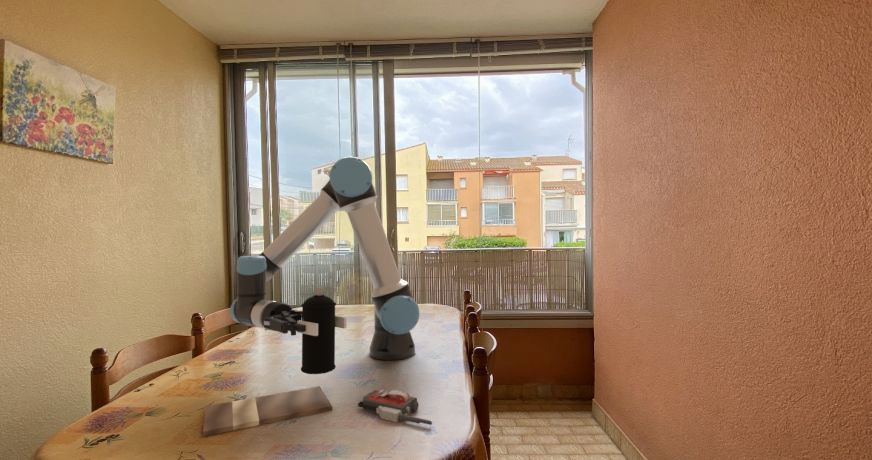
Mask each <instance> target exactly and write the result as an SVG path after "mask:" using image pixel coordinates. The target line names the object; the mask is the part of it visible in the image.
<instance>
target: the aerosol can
mask: <svg viewBox="0 0 872 460" xmlns="http://www.w3.org/2000/svg"><path fill="white" fill-rule="evenodd" d="M336 306H337V303H336V302H335V301H334V300H333V299H332V297H330V296H326V295H324V286H322V285H321V286H319V285H318V286H315V287H314V294H313V296H310V297H308V298H306V299H305V301H303V302H302V304H301V307H302V309H301V311H302V320H301V321H306V322H312V323H317V324H318V336H313V335H308V334H303V333H301V336H302V337H301V367H300V372H302V373H304V374H308V375H322V374H326V373H330V372H332V371H334V370H335V369H336V367H337V366H336V364H335V363H336V361H335V360H336V357H335V356H336V355H335V354H336V351H335V349H336V331H335V330H336V327H335V315H336Z"/></svg>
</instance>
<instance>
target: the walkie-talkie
mask: <svg viewBox="0 0 872 460" xmlns="http://www.w3.org/2000/svg"><path fill="white" fill-rule="evenodd" d="M357 406H358V407H359V408H360V409H361V408H362V409H363V411H366V412H369V413H373V414H378V416H379V418H381V420H386V421H389V422H393V423H396V424H397V423H398V422H400V421H402V422H404V421H405V422H410V423H415V424H423V425H424V424H425V425H430V426H432V425H433V422H432V421H431V420H429V419H425V418H420V417H415V416H410V415H411V414H412V413H413V412H417V411H418V409H419V406H420V405H419V402H418V398H417V397H415V396H410V395H409V393H408V392H406V391H400V390H396V389H392V390H391V391H389V392H388V391H385V389H381V390H377V389H374V390H372V391H370V392H369V393H367V394H366V395H364V396H363V398H362V401H359V402H357Z"/></svg>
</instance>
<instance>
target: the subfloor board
mask: <svg viewBox="0 0 872 460" xmlns="http://www.w3.org/2000/svg"><path fill="white" fill-rule="evenodd" d="M330 411H333V405H332V403H331V402H330V400H329V398H328V397H327V395H326V394H325V392H324V391H323V389H322V387H321V385H317V386H313V387H307V388H301V389H295V390H294V389H293V390H290V391H285V392H284V391H283V392H279V393H273V394H272V393H271V394H267V395H262V396H255V397H249V398H245V399H244V398H243V399H239V400H232V401H227V402H222V403H217V404H210V405H205V412H204V420H203V427H202V437H209V436H212V435H217V434H222V433H223V434H224V433H227V432H232V431H237V430H241V429H247V428H252V427H256V426H261V425H267V424H271V423H277V422H280V421H286V420H291V419H295V418H301V417H304V416H305V417H307V416H311V415H315V414H319V413H320V414H321V413H325V412H330Z"/></svg>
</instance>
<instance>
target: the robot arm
mask: <svg viewBox="0 0 872 460" xmlns="http://www.w3.org/2000/svg"><path fill="white" fill-rule="evenodd" d="M378 197H379V196H378V193H377V190H376V187H375V185H374V182H373V172H372V170H371V168H370V166H369V165H368V164H367V163H366V162H365V161H364V160H363V159H362V158H359V157H357V156H345V157H342V158H340V159H338V160H337V161H336V162H335V163H334V164H333V165H332V166H331V168H330V170H329V180H328V181H327V183H326V184H324V186H323V187H322V188H321V189H320V195H318V196H317V198H315V199H314V200H313V201H312V202H311V203H310V204H309V205H308V206H307V207H306V208H305V209H304V210H303V211H302V213H300V214H299V215H298V216H297V217H296V219H295V218H294V221H292V222H291V223H290V224H289V225H288V226H287V227H286V228H285V229H284V230H283V231H282V232H281V233H280V234H279V235H278V236H277V237H276V238H275V239H274V240H273V241H272V242H271V243H270V244H269V245H268V246H267V247H266V248H265V249H264V250H263V251H262V252H261V253H260V254H259V255H241V256H239V257H237V262H236V263H237V264H236V269H235V270H236V282H237V283H236V286H237V287H236V290H237V291H236V292H237V293H236V298H235V299H234V300H233V301H232V303H231V305H230V307H229V315H230V318H231V319H232V320H233V321H234V322H236V323H238V324H240V325H243V326H249V327H256V328H259V329H260V328H261V329H264V331H265V332H266V331H273V332H277V333H281V334H285V335H286V334H288V333H289V332H290V335H291V336H292V337H293V336H296V335H297V333H299V334H302V333H303V334H308V335H313V336H318V324H317V323H312V322H306V321H302V310H297V309H293V308H292V307H291V306H290V304H288V303H286V302H283V301H282V302H280V301H276V300H269V299H267V283H268V282H270V281H271V280H272V279H273V277H274V276H275V275H276V274H277V273H278V272H279V271H280V269H282V268H283V267H284V265H286V264H287V262H288V261H290V260H291V259H292V258H293V256H294V255H296V253H298V252H299V251H300V250H301V249H302V248H303V247H304V246H305V245H306V244H307V242H309V241H310V240H311V238H313V237H314V236H315V235H316V234H317V233H318V232H319V231H320V230H321V229H322V228H323V227H324V226H325V225H326V223H328V221H330V220H331V219H332V218H333V216H334V215H336V214H337V213H338V212H346V214H347V216H348V219H349V222H350V224H351V227H352V230H353V235H354V236H355V238H356V242H357V245H358V247H359V251H360V253H361V257H362V259H363V261H364V265H365V267H366V270H367V273H368V275H369V276H368V277H370V281H371V283H372V286H373V291H372V292H371V294H370V296H371V299H372V302H373V306H374V307H373V308H374V312H373V313H374V316H373V317H374V332H373V335H372V339H371V343H370V345H369V356H370V357H371V358H373V359H377V360H383V361H396V360H403V359H407V358H410V357H413V356H414V355H415V354H416V345H415V342H414V339H413V336H412V333H411V331H412V330H413V329H414V328H415V327H416V325H417V324H418V322H419V320H420V308H419V305H418V303H417V301H416V300H415V299H414V297H413V293H412V291H411V287H410V285H409V282H408V281H407V280H405V279H402V277H401V274H400V271H399V269H398V267H397V263H396V261H395V257H394V255H393V251H392V249H391V246H390V242H389V240H388V237H387V235H386V232H385V228H384V226H383V222H382V220H381V217H380V215H379V211H378V208H377V206H376V201H377V199H378ZM335 328H338V329H345V330H346V328H347V316H342V315H336V314H335Z"/></svg>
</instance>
